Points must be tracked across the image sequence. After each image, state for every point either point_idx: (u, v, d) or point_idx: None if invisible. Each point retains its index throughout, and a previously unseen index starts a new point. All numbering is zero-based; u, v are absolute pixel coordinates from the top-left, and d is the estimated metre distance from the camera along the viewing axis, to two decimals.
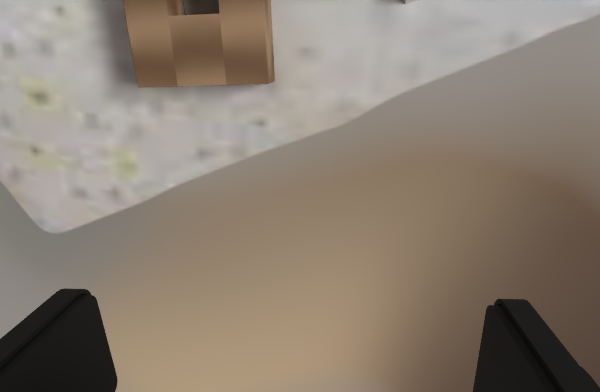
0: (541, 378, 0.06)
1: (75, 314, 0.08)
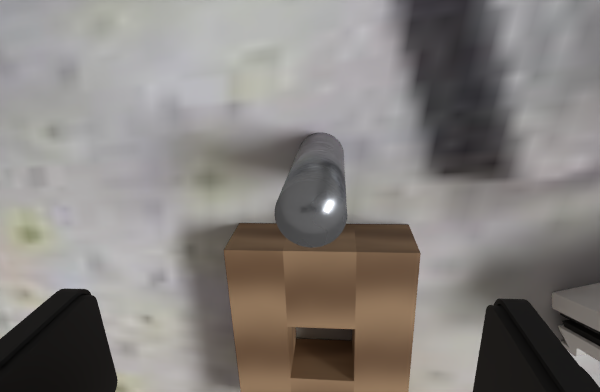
0: (541, 378, 0.06)
1: (75, 314, 0.08)
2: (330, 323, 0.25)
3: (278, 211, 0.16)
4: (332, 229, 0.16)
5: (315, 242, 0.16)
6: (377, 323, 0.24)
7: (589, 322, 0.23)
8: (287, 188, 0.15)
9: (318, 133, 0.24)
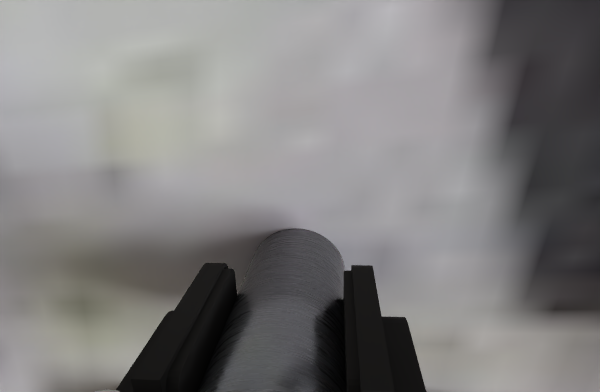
0: (349, 320, 0.07)
1: (225, 284, 0.09)
2: None
3: None
4: None
5: None
6: None
7: None
8: None
9: (291, 231, 0.11)
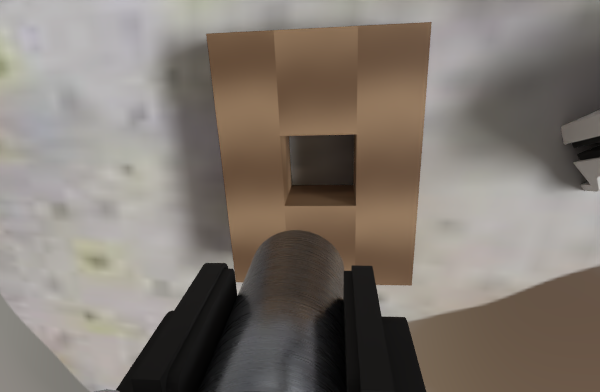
0: (349, 320, 0.07)
1: (225, 284, 0.09)
2: (328, 128, 0.22)
3: None
4: None
5: None
6: (382, 124, 0.21)
7: None
8: None
9: (291, 232, 0.11)
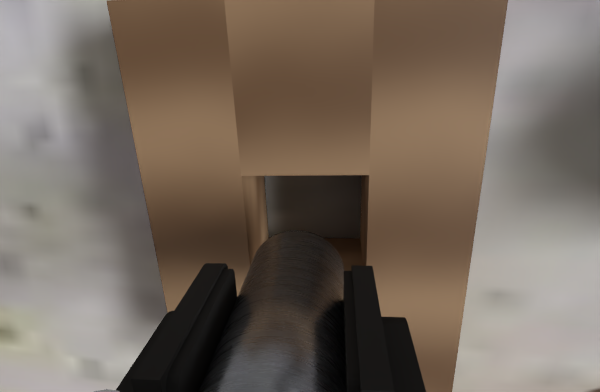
0: (349, 320, 0.07)
1: (225, 284, 0.09)
2: (322, 164, 0.13)
3: None
4: None
5: None
6: (413, 159, 0.13)
7: None
8: None
9: (291, 233, 0.11)
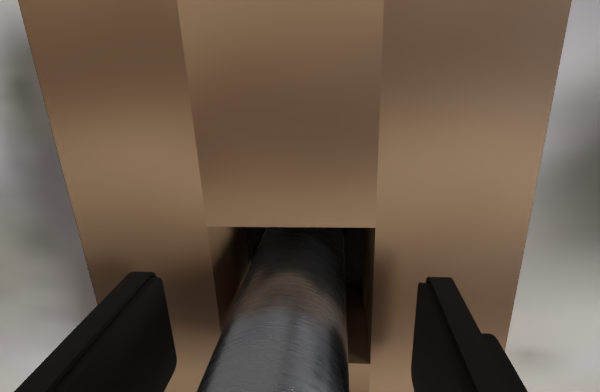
0: (446, 340, 0.07)
1: (148, 294, 0.09)
2: (313, 213, 0.10)
3: None
4: None
5: None
6: (434, 209, 0.09)
7: None
8: None
9: None
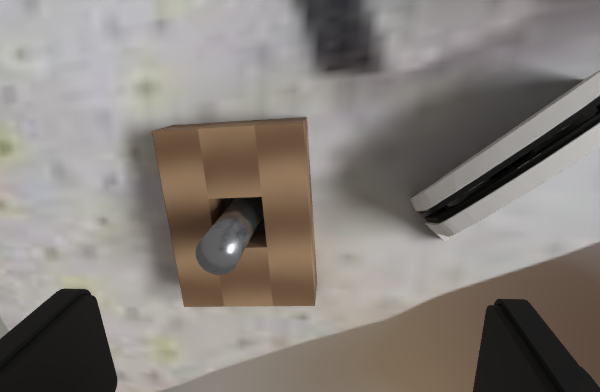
0: (541, 378, 0.06)
1: (75, 314, 0.08)
2: (241, 192, 0.30)
3: (197, 253, 0.26)
4: (230, 263, 0.26)
5: (221, 271, 0.26)
6: (278, 189, 0.30)
7: (419, 207, 0.30)
8: (201, 239, 0.25)
9: None
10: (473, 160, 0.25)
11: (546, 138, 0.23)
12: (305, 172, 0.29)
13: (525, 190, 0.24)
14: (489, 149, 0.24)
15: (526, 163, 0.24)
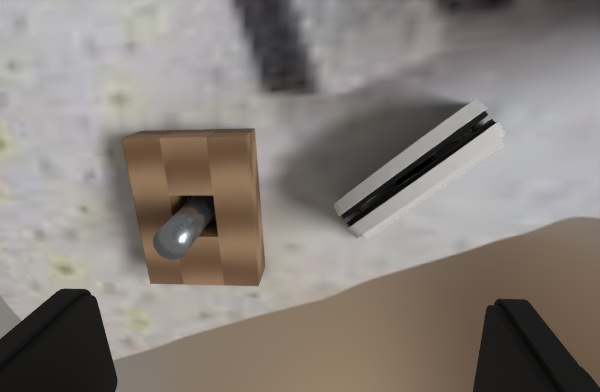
0: (541, 378, 0.06)
1: (75, 314, 0.08)
2: (196, 191, 0.37)
3: (154, 242, 0.32)
4: (181, 251, 0.32)
5: (174, 257, 0.32)
6: (227, 190, 0.36)
7: None
8: (157, 231, 0.32)
9: None
10: (368, 178, 0.31)
11: (420, 161, 0.30)
12: (248, 176, 0.36)
13: (406, 202, 0.30)
14: (379, 169, 0.31)
15: (406, 181, 0.30)
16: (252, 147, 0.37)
